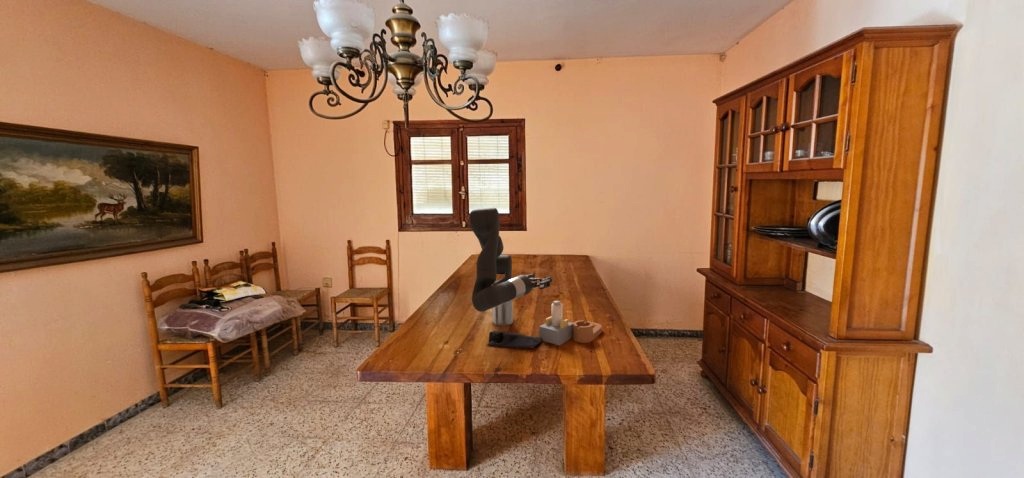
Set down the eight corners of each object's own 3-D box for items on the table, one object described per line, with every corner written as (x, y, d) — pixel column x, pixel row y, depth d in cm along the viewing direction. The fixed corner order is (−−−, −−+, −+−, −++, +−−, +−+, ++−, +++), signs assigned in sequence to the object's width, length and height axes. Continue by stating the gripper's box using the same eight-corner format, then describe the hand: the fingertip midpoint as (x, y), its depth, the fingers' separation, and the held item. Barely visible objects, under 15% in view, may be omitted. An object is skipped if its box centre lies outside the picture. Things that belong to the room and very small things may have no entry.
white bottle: (554, 327, 167) (554, 303, 166) (549, 323, 172) (549, 300, 170) (564, 325, 168) (564, 302, 167) (559, 322, 173) (559, 299, 172)
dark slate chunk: (532, 354, 157) (532, 343, 156) (483, 346, 166) (483, 335, 165) (545, 339, 171) (545, 329, 170) (499, 333, 180) (498, 323, 179)
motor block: (559, 345, 163) (559, 325, 162) (539, 339, 170) (539, 320, 168) (577, 334, 175) (577, 315, 173) (558, 329, 181) (558, 311, 180)
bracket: (588, 344, 164) (588, 328, 163) (570, 340, 169) (569, 325, 168) (604, 330, 179) (604, 315, 178) (587, 326, 183) (587, 312, 182)
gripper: (532, 280, 142) (557, 270, 154) (502, 274, 151) (528, 266, 163) (532, 300, 143) (557, 289, 155) (502, 293, 152) (528, 283, 164)
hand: (542, 277), depth 159 cm, fingers open, 8 cm apart
